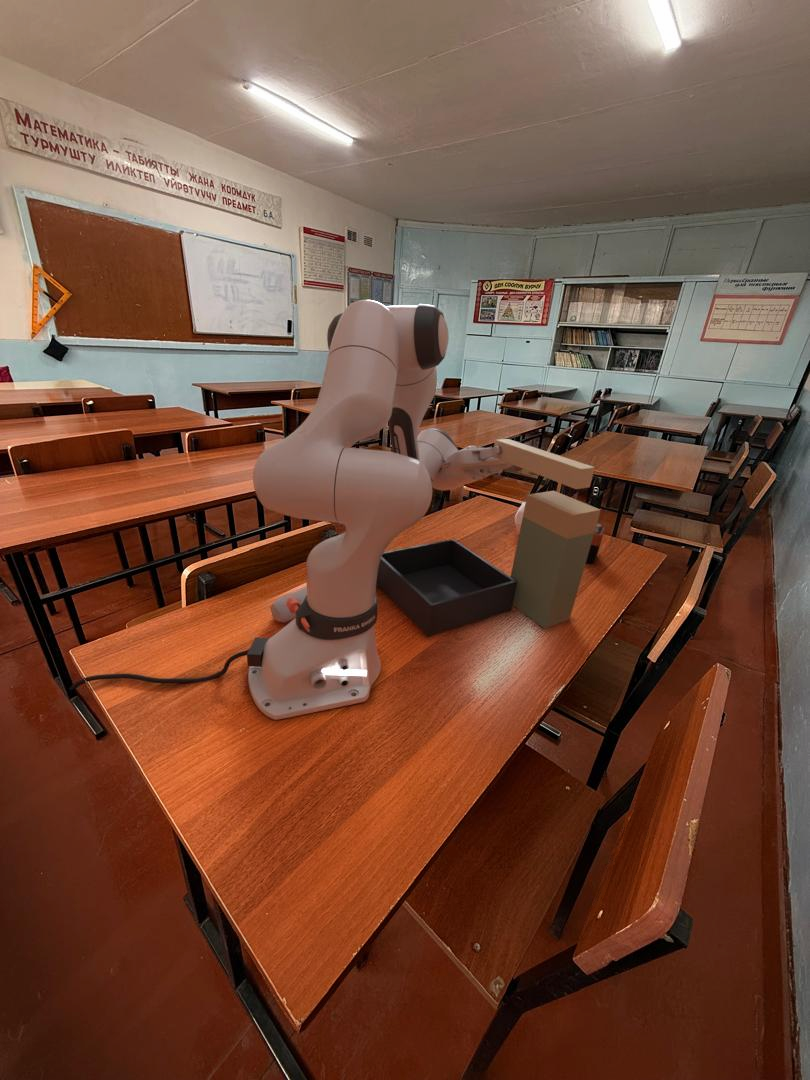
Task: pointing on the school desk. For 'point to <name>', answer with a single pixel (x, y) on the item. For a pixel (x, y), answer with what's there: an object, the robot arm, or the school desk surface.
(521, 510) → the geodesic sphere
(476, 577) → the bin
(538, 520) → the stand
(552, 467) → the cream rectangular beam
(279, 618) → the tube
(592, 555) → the battery
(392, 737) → the school desk surface
